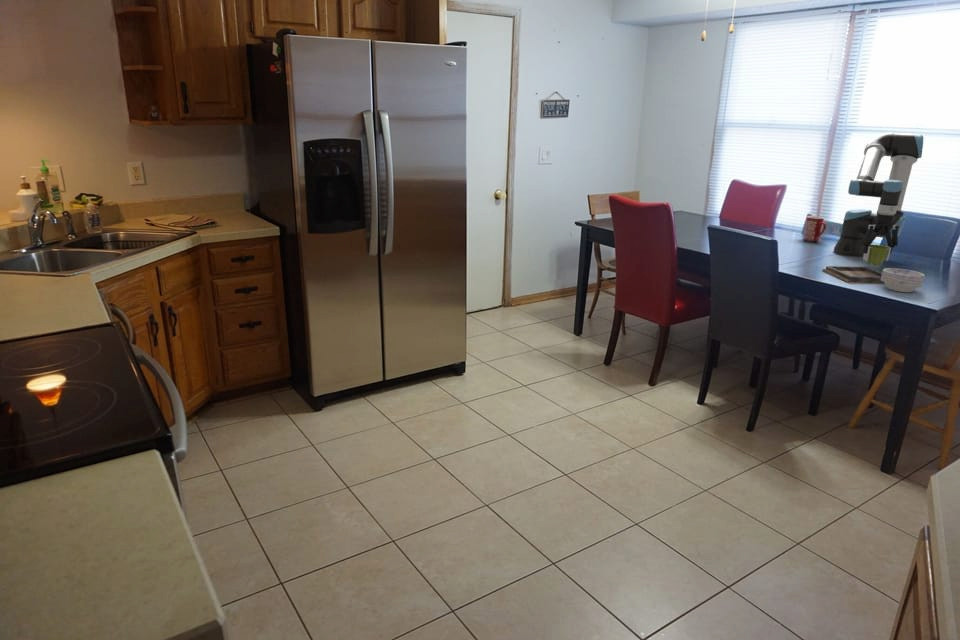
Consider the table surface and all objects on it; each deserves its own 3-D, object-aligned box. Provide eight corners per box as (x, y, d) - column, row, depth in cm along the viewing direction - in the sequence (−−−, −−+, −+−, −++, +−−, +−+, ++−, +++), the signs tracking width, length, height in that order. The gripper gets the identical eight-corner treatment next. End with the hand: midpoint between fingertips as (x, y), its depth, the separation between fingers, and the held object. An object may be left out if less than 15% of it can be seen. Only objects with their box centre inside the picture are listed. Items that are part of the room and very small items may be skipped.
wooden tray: (867, 271, 299) (868, 266, 298) (895, 283, 280) (896, 277, 280) (822, 270, 298) (823, 265, 297) (846, 282, 279) (848, 276, 279)
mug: (798, 239, 371) (803, 215, 366) (812, 238, 373) (816, 215, 368) (814, 243, 359) (819, 219, 355) (827, 243, 361) (832, 219, 357)
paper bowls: (904, 284, 278) (908, 267, 276) (929, 295, 264) (934, 276, 261) (870, 284, 278) (875, 266, 275) (893, 294, 263) (898, 276, 261)
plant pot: (859, 261, 312) (863, 244, 309) (879, 262, 311) (884, 244, 308) (868, 266, 303) (872, 248, 300) (889, 267, 302) (893, 249, 299)
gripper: (868, 214, 295) (857, 261, 302) (914, 215, 296) (902, 262, 303) (858, 212, 302) (848, 257, 309) (903, 212, 303) (892, 258, 310)
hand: (875, 259), depth 306 cm, fingers closed on plant pot, 9 cm apart
